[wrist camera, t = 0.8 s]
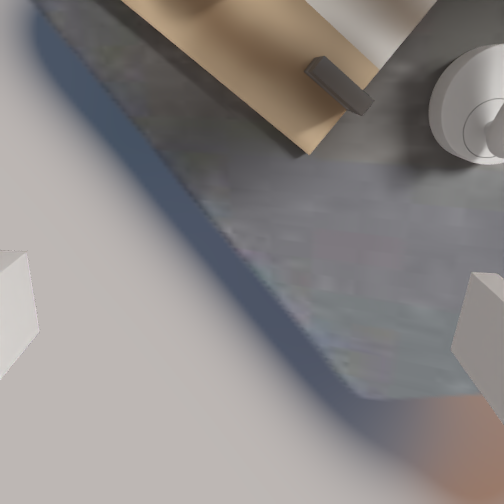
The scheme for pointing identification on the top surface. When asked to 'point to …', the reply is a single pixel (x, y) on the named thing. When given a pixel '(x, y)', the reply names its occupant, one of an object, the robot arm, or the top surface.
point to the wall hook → (471, 106)
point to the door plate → (290, 52)
